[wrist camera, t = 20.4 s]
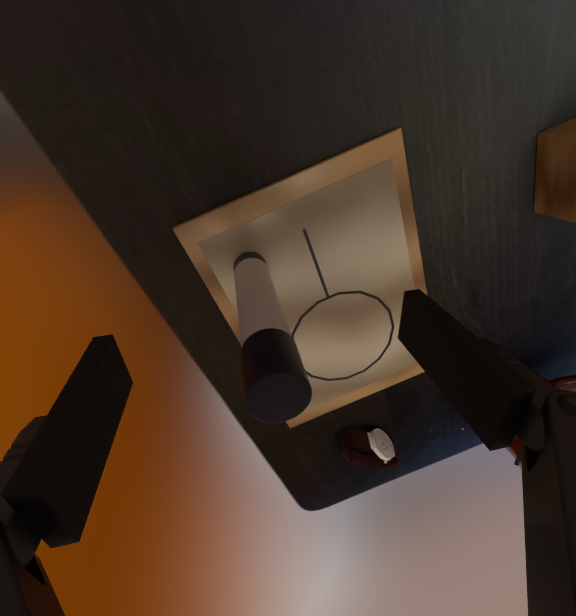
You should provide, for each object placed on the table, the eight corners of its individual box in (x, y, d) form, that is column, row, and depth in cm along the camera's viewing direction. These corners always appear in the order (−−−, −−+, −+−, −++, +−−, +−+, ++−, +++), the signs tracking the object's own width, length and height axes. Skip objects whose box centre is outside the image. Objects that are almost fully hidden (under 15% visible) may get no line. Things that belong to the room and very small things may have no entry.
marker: (229, 253, 22) (240, 380, 11) (265, 248, 22) (311, 367, 11) (235, 285, 23) (249, 429, 12) (269, 280, 24) (313, 416, 12)
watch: (401, 436, 37) (417, 464, 34) (374, 460, 38) (388, 490, 35) (353, 416, 34) (367, 445, 31) (326, 444, 35) (337, 475, 32)
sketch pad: (173, 226, 21) (172, 229, 21) (397, 127, 21) (402, 127, 20) (288, 423, 32) (290, 429, 32) (434, 362, 32) (438, 366, 31)
